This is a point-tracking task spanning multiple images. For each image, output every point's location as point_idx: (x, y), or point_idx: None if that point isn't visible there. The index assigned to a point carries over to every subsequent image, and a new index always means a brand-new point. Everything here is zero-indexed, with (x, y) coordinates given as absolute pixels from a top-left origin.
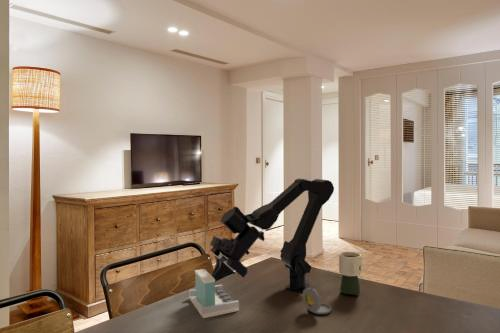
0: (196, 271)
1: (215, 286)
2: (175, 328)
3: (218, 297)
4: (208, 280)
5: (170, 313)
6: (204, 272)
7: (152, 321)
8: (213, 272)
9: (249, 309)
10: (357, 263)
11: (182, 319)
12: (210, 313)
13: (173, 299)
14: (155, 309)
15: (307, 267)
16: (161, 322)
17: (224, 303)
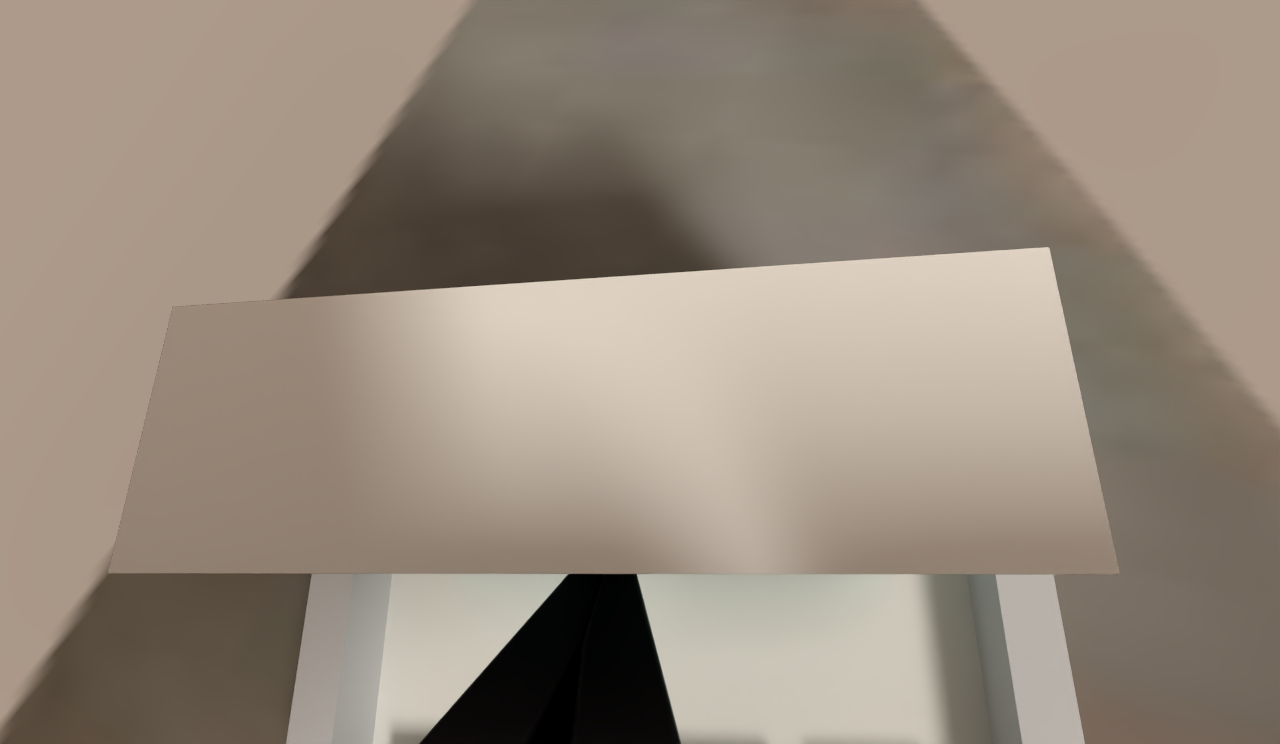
0: (923, 269)
1: None
2: (368, 160)
3: (734, 742)
4: (156, 398)
5: (654, 150)
6: (739, 462)
7: (573, 16)
8: (601, 737)
9: None
10: None
11: (484, 230)
12: None
13: (1006, 211)
14: (802, 39)
15: None
16: (521, 74)
17: (319, 684)
